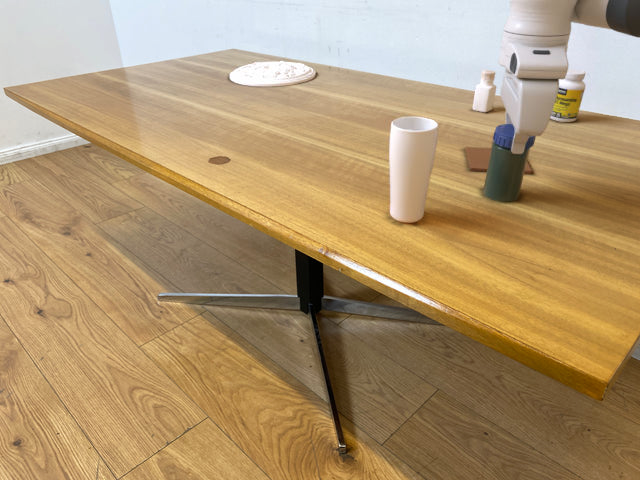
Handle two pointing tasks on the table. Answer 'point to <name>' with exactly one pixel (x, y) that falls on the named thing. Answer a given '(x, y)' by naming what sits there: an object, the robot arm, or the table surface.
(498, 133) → the lid
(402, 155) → the drinking glass
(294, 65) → the ceiling medallion
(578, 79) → the pill bottle
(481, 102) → the white corked bottle
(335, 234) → the table surface
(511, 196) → the jar
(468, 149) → the coaster
